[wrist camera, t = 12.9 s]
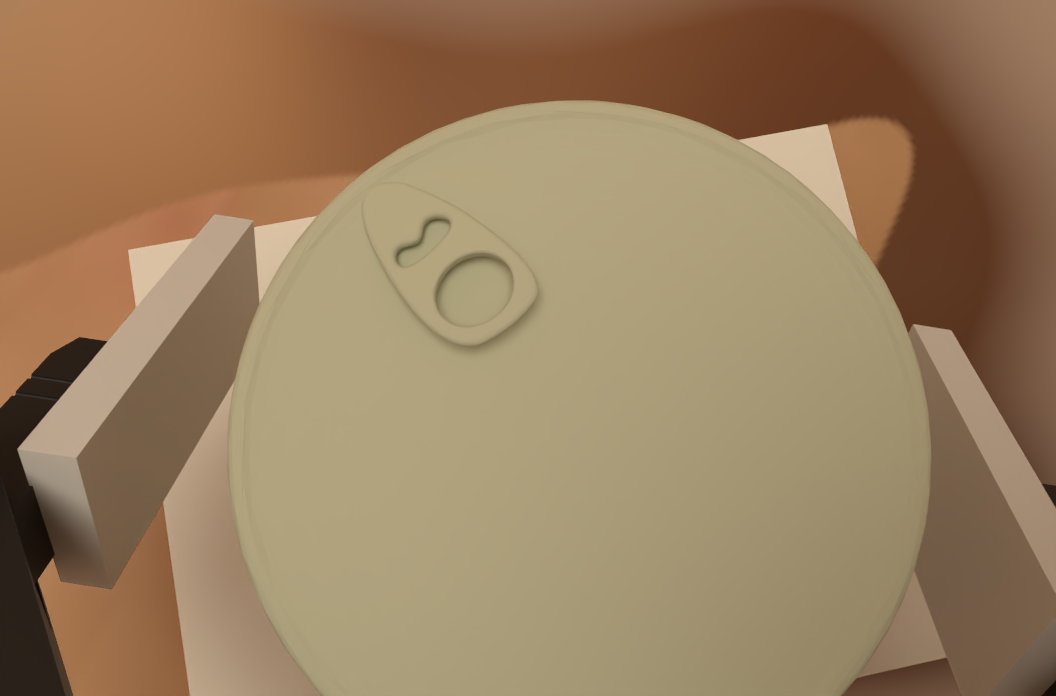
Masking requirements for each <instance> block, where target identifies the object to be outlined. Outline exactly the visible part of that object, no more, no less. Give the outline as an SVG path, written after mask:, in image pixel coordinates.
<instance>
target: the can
mask: <svg viewBox="0 0 1056 696" xmlns="http://www.w3.org/2000/svg"><path fill="white" fill-rule="evenodd" d="M931 458H932V455H931V437H930V425H929V412H928V407H927V402H926V396H925V391H924V386H923V381H922V375H921V371H920V367H919V364H918V360H917V357H916V353H915V350H914V347H913V345H912V342H911V339H910V337H909V334H908V332H907V329H906V327H905V324H904V322H903V319H902V316H901V314H900V311H899V309H898V307H897V305H896V303H895V302H894V299H893V297H892V295H891V293H890V291H889V289H888V287H887V285H886V283H885V281H884V280H883V278H882V277H881V275H880V273H879V272H878V270H877V268H876V267H875V265H874V264H873V262H872V261H871V259H870V258H869V256H868V255H867V254H866V252H865V251H864V249H863V248H862V246H861V245H860V244H859V242H858V241H857V239H856V238H855V237H854V236H853V235H852V233H851V232H850V231H849V230H848V229H847V228H846V226H845V225H844V224H843V223H842V222H841V220H840V219H839V218H838V217H837V216H836V215H835V214H834V213H833V212H832V211H831V209H829V208H828V207H827V206H826V205H825V204H824V203H823V202H822V201H821V200H820V199H819V198H818V197H817V196H816V195H815V194H814V193H813V192H812V191H811V190H810V189H809V188H808V187H807V186H805V185H804V184H803V183H802V182H800V181H799V180H798V179H797V178H795V177H794V176H793V175H792V174H790V173H789V172H788V171H786V170H785V169H784V168H782V167H781V166H779V165H778V164H776V163H775V162H773V161H772V160H771V159H769V158H768V157H766V156H765V155H763V154H761V153H760V152H758V151H756V150H754V149H752V148H751V147H749V146H747V145H745V144H744V143H742V142H740V141H738V140H736V139H734V138H733V137H730V136H728V135H726V134H724V133H722V132H719V131H717V130H715V129H713V128H710V127H708V126H706V125H704V124H701V123H698V122H695V121H692V120H689V119H687V118H684V117H681V116H677V115H673V114H669V113H665V112H661V111H657V110H653V109H649V108H645V107H640V106H634V105H629V104H621V103H612V102H603V101H589V100H585V101H552V102H543V103H532V104H523V105H517V106H511V107H506V108H501V109H497V110H493V111H489V112H486V113H482V114H479V115H475V116H472V117H468V118H465V119H462V120H460V121H457V122H455V123H452V124H450V125H447V126H444V127H442V128H439V129H437V130H434V131H432V132H430V133H428V134H426V135H424V136H423V137H420V138H419V139H416V140H415V141H413V142H411V143H409V144H407V145H405V146H403V147H401V148H399V149H398V150H396V151H395V152H393V153H392V154H390V155H389V156H387V157H386V158H384V159H383V160H381V161H380V162H378V163H377V164H375V165H374V166H372V167H371V168H369V169H368V170H367V171H365V172H364V173H363V174H361V175H360V176H359V177H357V178H356V179H355V180H354V181H353V182H352V183H351V184H349V185H348V186H347V187H346V188H345V189H344V190H343V191H342V192H340V193H339V194H338V195H337V196H336V197H335V198H334V199H333V200H332V201H331V202H330V203H329V204H328V205H327V206H326V207H325V208H324V209H323V210H322V211H321V212H320V213H319V214H318V215H317V217H316V218H315V219H314V220H313V221H312V223H311V224H310V225H309V226H308V227H307V229H306V230H305V231H304V232H303V233H302V235H301V236H300V237H299V238H298V240H297V241H296V243H295V244H294V246H293V247H292V248H291V250H290V251H289V253H288V254H287V256H286V257H285V259H284V260H283V262H282V263H281V265H280V266H279V268H278V270H277V272H276V274H275V275H274V277H273V279H272V281H271V283H270V285H269V287H268V288H267V290H266V292H265V294H264V296H263V298H262V300H261V302H260V304H259V306H258V308H257V311H256V313H255V316H254V318H253V321H252V323H251V326H250V328H249V331H248V334H247V337H246V340H245V343H244V346H243V349H242V352H241V356H240V360H239V364H238V368H237V373H236V377H235V381H234V386H233V392H232V399H231V405H230V411H229V423H228V456H227V471H228V480H229V489H230V498H231V507H232V513H233V518H234V523H235V528H236V532H237V537H238V542H239V546H240V549H241V553H242V556H243V559H244V562H245V565H246V568H247V571H248V574H249V577H250V580H251V582H252V585H253V587H254V589H255V592H256V594H257V597H258V599H259V601H260V603H261V605H262V607H263V609H264V612H265V614H266V616H267V618H268V620H269V622H270V624H271V625H272V627H273V629H274V631H275V632H276V634H277V636H278V638H279V639H280V641H281V643H282V645H283V646H284V648H285V649H286V651H287V652H288V653H289V655H290V656H291V657H292V659H293V660H294V662H295V663H296V664H297V666H298V667H299V668H300V670H301V671H302V672H303V674H304V675H305V676H306V678H307V679H308V681H309V682H310V683H311V684H312V685H313V686H314V687H315V689H316V690H317V691H318V692H319V693H320V694H321V695H322V696H842V695H843V694H844V693H845V691H846V690H847V689H848V688H849V687H850V685H851V684H852V683H853V682H854V680H855V679H856V678H857V677H858V675H859V674H860V673H861V672H862V671H863V669H864V668H865V667H866V665H867V663H868V662H869V660H870V659H871V657H872V655H873V654H874V652H875V651H876V649H877V647H878V646H879V644H880V643H881V641H882V640H883V638H884V636H885V635H886V633H887V632H888V630H889V627H890V625H891V623H892V621H893V619H894V617H895V615H896V613H897V611H898V609H899V607H900V605H901V603H902V601H903V598H904V596H905V593H906V590H907V588H908V585H909V582H910V580H911V577H912V574H913V572H914V569H915V566H916V562H917V558H918V554H919V550H920V546H921V542H922V538H923V534H924V530H925V526H926V519H927V512H928V504H929V496H930V482H931Z"/></svg>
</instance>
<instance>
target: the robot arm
mask: <svg viewBox="0 0 1056 696" xmlns="http://www.w3.org/2000/svg"><path fill="white" fill-rule="evenodd" d="M259 304H260V302H259V288H258V275H257V261H256V248H255V234H254V221H253V220H247V219H241V218H234V217H228V216H222V215H215V214H214V215H213V217H212V218H211V219H210V220H209V221H208V223H207V224H206V225H205V226H204V227H203V229H202V230H201V231H200V232H199V233H198V235H197V236H196V237H195V238H194V239H193V240H192V242H191V243H190V244H189V245H188V246H187V248H186V249H185V250H184V251H183V252H182V254H181V255H180V256H179V257H178V258H177V260H176V261H175V262H174V263H173V264H172V265H171V267H170V268H169V269H168V270H167V271H166V273H165V274H164V275H163V276H162V277H161V279H160V280H159V281H158V282H157V283H156V285H155V286H154V287H153V288H152V289H151V290H150V292H149V293H148V294H147V295H146V296H145V298H144V299H143V300H142V301H141V302H140V304H139V305H138V306H137V307H136V308H135V310H134V311H133V312H132V313H131V314H130V315H129V317H128V318H127V319H126V320H125V321H124V323H123V324H122V325H121V326H120V327H119V329H118V330H117V331H116V332H115V333H114V335H113V336H112V337H111V338H110V339H109V340H108V342H107V341H101V340H95V339H88V338H82V337H79V338H77V339H76V340H74V341H72V342H70V343H68V344H67V345H65V346H63V347H61V348H60V349H58V350H56V351H54V352H53V353H51V354H50V355H49V356H48V357H47V358H46V359H45V360H44V361H43V362H42V363H41V365H40V366H39V367H38V368H37V369H36V370H35V371H34V372H33V373H32V374H31V375H32V376H31V379H27V380H26V381H25V382H24V383H23V384H22V385H21V386H20V387H19V389H18V390H17V391H16V395H15V396H11V397H10V398H9V399H8V401H7V402H6V403H5V404H4V405H3V406H2V407H1V408H0V696H73V693H72V690H71V687H70V684H69V680H68V677H67V674H66V670H65V667H64V664H63V661H62V657H61V654H60V651H59V647H58V644H57V641H56V638H55V634H54V631H53V628H52V624H51V621H50V618H49V615H48V611H47V608H46V605H45V601H44V598H43V595H42V592H41V589H40V586H39V583H38V578H39V577H40V575H41V574H42V572H43V571H44V570H45V568H46V567H47V565H48V564H49V562H50V561H51V559H52V558H53V559H54V562H55V565H56V568H57V571H58V574H59V577H60V580H61V582H67V583H74V584H81V585H88V586H94V587H101V588H108V589H112V588H113V586H114V585H115V583H116V581H117V580H118V578H119V576H120V575H121V573H122V571H123V569H124V568H125V566H126V564H127V563H128V561H129V559H130V558H131V556H132V554H133V552H134V551H135V549H136V547H137V546H138V544H139V542H140V541H141V539H142V537H143V535H144V534H145V532H146V530H147V529H148V527H149V525H150V524H151V522H152V520H153V518H154V517H155V515H156V513H157V512H158V510H159V508H160V506H161V505H162V503H163V501H164V500H165V498H166V496H167V495H168V493H169V491H170V489H171V488H172V486H173V484H174V483H175V481H176V479H177V478H178V476H179V474H180V472H181V471H182V469H183V467H184V466H185V464H186V462H187V461H188V459H189V457H190V455H191V454H192V452H193V450H194V449H195V447H196V445H197V444H198V442H199V440H200V438H201V437H202V435H203V433H204V432H205V430H206V428H207V427H208V425H209V423H210V421H211V420H212V418H213V416H214V415H215V413H216V411H217V410H218V408H219V406H220V404H221V403H222V401H223V399H224V398H225V396H226V394H227V393H228V391H229V389H230V387H231V386H232V384H233V382H234V381H235V377H236V373H237V368H238V364H239V360H240V356H241V352H242V349H243V346H244V343H245V340H246V337H247V334H248V331H249V328H250V326H251V323H252V321H253V318H254V316H255V313H256V311H257V308H258V306H259ZM908 334H909V337H910V339H911V342H912V345H913V347H914V350H915V353H916V357H917V360H918V364H919V367H920V371H921V375H922V381H923V386H924V391H925V396H926V402H927V407H928V412H929V425H930V437H931V455H932V458H931V482H930V496H929V504H928V512H927V519H926V526H925V530H924V534H923V538H922V542H921V546H920V550H919V554H918V558H917V562H916V566H915V569H914V571H915V574H916V576H917V579H918V582H919V584H920V587H921V590H922V592H923V595H924V598H925V601H926V603H927V606H928V609H929V611H930V614H931V617H932V619H933V622H934V625H935V627H936V630H937V633H938V635H939V638H940V641H941V644H942V646H943V649H944V652H945V654H946V657H947V660H948V662H949V665H950V667H951V670H952V673H953V676H954V678H955V681H956V684H957V686H958V689H959V692H960V695H961V696H1056V486H1053V485H1047V484H1041V482H1040V481H1039V479H1038V477H1037V475H1036V474H1035V472H1034V470H1033V469H1032V467H1031V465H1030V464H1029V462H1028V460H1027V458H1026V457H1025V455H1024V453H1023V452H1022V450H1021V448H1020V447H1019V445H1018V443H1017V442H1016V440H1015V438H1014V436H1013V435H1012V433H1011V431H1010V430H1009V428H1008V426H1007V425H1006V423H1005V421H1004V419H1003V418H1002V416H1001V414H1000V413H999V411H998V409H997V407H996V406H995V404H994V403H993V401H992V399H991V397H990V396H989V394H988V392H987V390H986V389H985V387H984V385H983V384H982V382H981V380H980V379H979V377H978V375H977V373H976V372H975V370H974V368H973V367H972V365H971V363H970V362H969V360H968V358H967V356H966V355H965V353H964V351H963V350H962V348H961V347H960V345H959V343H958V341H957V340H956V338H955V336H954V334H953V333H952V331H951V330H947V329H940V328H934V327H928V326H921V325H914V324H913V325H912V328H911V329H910V331H909V333H908Z"/></svg>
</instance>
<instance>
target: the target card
mask: <svg viewBox="0 0 1056 696" xmlns="http://www.w3.org/2000/svg"><path fill="white" fill-rule="evenodd" d="M738 141H740V142H742V143H744V144H745V145H747V146H749V147H751V148H752V149H754V150H756V151H758V152H760V153H761V154H763V155H765V156H766V157H768V158H769V159H771V160H772V161H773V162H775V163H776V164H778V165H779V166H781V167H782V168H784V169H785V170H786V171H788V172H789V173H790V174H792V175H793V176H794V177H795V178H797V179H798V180H799V181H800V182H802V183H803V184H804V185H805V186H807V187H808V188H809V189H810V190H811V191H812V192H813V193H814V194H815V195H816V196H817V197H818V198H819V199H820V200H821V201H822V202H823V203H824V204H825V205H826V206H827V207H828V208H829V209H831V211H832V212H833V213H834V214H835V215H836V216H837V217H838V218H839V219H840V220H841V222H842V223H843V224H844V225H845V226H846V228H847V229H848V230H849V231H850V232H851V233H852V235H853V236H854V237H855V238H856V239H857V236H856V232H855V228H854V224H853V221H852V217H851V213H850V209H849V205H848V202H847V198H846V194H845V190H844V186H843V183H842V179H841V175H840V171H839V167H838V164H837V160H836V156H835V152H834V148H833V145H832V141H831V137H830V133H829V129H828V126H827V124H826V125H820V126H814V127H809V128H803V129H798V130H792V131H787V132H781V133H776V134H770V135H764V136H759V137H753V138H748V139H742V140H738ZM316 217H317V216H315V217H309V218H303V219H298V220H292V221H287V222H281V223H276V224H270V225H265V226H259V227H254V234H255V248H256V261H257V275H258V288H259V302H261V300H262V298H263V296H264V294H265V292H266V290H267V288H268V287H269V285H270V283H271V281H272V279H273V277H274V275H275V274H276V272H277V270H278V268H279V266H280V265H281V263H282V262H283V260H284V259H285V257H286V256H287V254H288V253H289V251H290V250H291V248H292V247H293V246H294V244H295V243H296V241H297V240H298V238H299V237H300V236H301V235H302V233H303V232H304V231H305V230H306V229H307V227H308V226H309V225H310V224H311V223H312V221H313V220H314V219H315V218H316ZM193 239H194V238H192V239H187V240H181V241H176V242H170V243H165V244H159V245H153V246H148V247H142V248H137V249H131V250H128V253H129V260H130V267H131V274H132V282H133V289H134V296H135V303H136V307H137V306H138V305H139V304H140V302H141V301H142V300H143V299H144V298H145V296H146V295H147V294H148V293H149V292H150V290H151V289H152V288H153V287H154V286H155V285H156V283H157V282H158V281H159V280H160V279H161V277H162V276H163V275H164V274H165V273H166V271H167V270H168V269H169V268H170V267H171V265H172V264H173V263H174V262H175V261H176V260H177V258H178V257H179V256H180V255H181V254H182V252H183V251H184V250H185V249H186V248H187V246H188V245H189V244H190V243H191V242H192V240H193ZM857 241H858V240H857ZM233 386H234V382H233V384H232V386H231V387H230V389H229V391H228V393H227V394H226V396H225V398H224V399H223V401H222V403H221V404H220V406H219V408H218V410H217V411H216V413H215V415H214V416H213V418H212V420H211V421H210V423H209V425H208V427H207V428H206V430H205V432H204V433H203V435H202V437H201V438H200V440H199V442H198V444H197V445H196V447H195V449H194V450H193V452H192V454H191V455H190V457H189V459H188V461H187V462H186V464H185V466H184V467H183V469H182V471H181V472H180V474H179V476H178V478H177V479H176V481H175V483H174V484H173V486H172V488H171V489H170V491H169V493H168V495H167V496H166V498H165V500H164V501H163V505H164V512H165V519H166V526H167V534H168V541H169V548H170V555H171V562H172V570H173V577H174V584H175V591H176V598H177V605H178V613H179V620H180V627H181V634H182V641H183V649H184V656H185V663H186V670H187V677H188V685H189V692H190V696H322V695H321V694H320V693H319V692H318V691H317V690H316V689H315V687H314V686H313V685H312V684H311V683H310V682H309V681H308V679H307V678H306V676H305V675H304V674H303V672H302V671H301V670H300V668H299V667H298V666H297V664H296V663H295V662H294V660H293V659H292V657H291V656H290V655H289V653H288V652H287V651H286V649H285V648H284V646H283V645H282V643H281V641H280V639H279V638H278V636H277V634H276V632H275V631H274V629H273V627H272V625H271V624H270V622H269V620H268V618H267V616H266V614H265V612H264V609H263V607H262V605H261V603H260V601H259V599H258V597H257V594H256V592H255V589H254V587H253V585H252V582H251V580H250V577H249V574H248V571H247V568H246V565H245V562H244V559H243V556H242V553H241V549H240V546H239V542H238V537H237V532H236V528H235V523H234V518H233V513H232V507H231V498H230V489H229V480H228V471H227V456H228V423H229V411H230V405H231V399H232V392H233ZM942 658H946V654H945V652H944V649H943V646H942V644H941V641H940V638H939V635H938V633H937V630H936V627H935V625H934V622H933V619H932V617H931V614H930V611H929V609H928V606H927V603H926V601H925V598H924V595H923V592H922V590H921V587H920V584H919V582H918V579H917V576H916V574H915V571H914V572H913V574H912V577H911V580H910V582H909V585H908V588H907V590H906V593H905V596H904V598H903V601H902V603H901V605H900V607H899V609H898V611H897V613H896V615H895V617H894V619H893V621H892V623H891V625H890V627H889V630H888V632H887V633H886V635H885V636H884V638H883V640H882V641H881V643H880V644H879V646H878V647H877V649H876V651H875V652H874V654H873V655H872V657H871V659H870V660H869V662H868V663H867V665H866V667H865V668H864V669H863V671H862V672H861V673H860V674H859V675H858V677H857V678H859V677H863V676H867V675H872V674H876V673H880V672H885V671H889V670H894V669H898V668H902V667H907V666H911V665H916V664H920V663H924V662H928V661H933V660H938V659H942Z"/></svg>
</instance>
